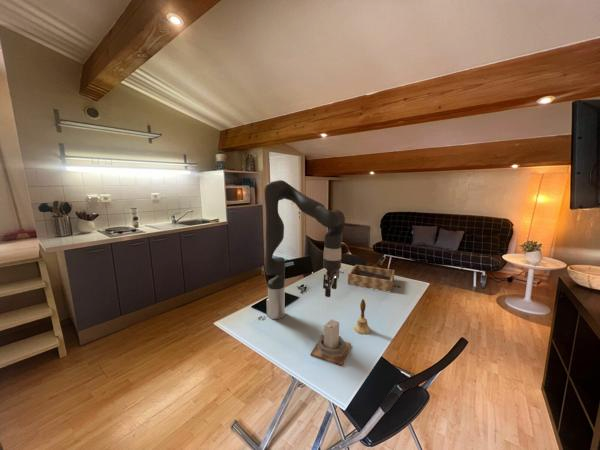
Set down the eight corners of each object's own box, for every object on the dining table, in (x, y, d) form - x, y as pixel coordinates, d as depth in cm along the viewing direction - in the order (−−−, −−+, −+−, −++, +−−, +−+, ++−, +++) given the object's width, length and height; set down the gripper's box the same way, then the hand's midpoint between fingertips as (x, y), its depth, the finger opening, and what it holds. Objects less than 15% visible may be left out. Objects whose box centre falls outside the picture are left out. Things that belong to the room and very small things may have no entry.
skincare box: (330, 342, 107) (331, 318, 105) (339, 347, 105) (339, 322, 103) (322, 349, 103) (323, 324, 101) (331, 354, 100) (332, 328, 98)
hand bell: (354, 333, 116) (355, 303, 114) (353, 323, 124) (354, 295, 122) (371, 335, 115) (373, 304, 112) (369, 325, 123) (371, 296, 120)
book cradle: (347, 284, 175) (348, 274, 173) (355, 273, 196) (355, 264, 195) (390, 292, 162) (391, 281, 160) (393, 280, 183) (394, 270, 182)
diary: (385, 291, 165) (385, 284, 164) (351, 283, 179) (351, 277, 178) (391, 282, 180) (392, 276, 179) (360, 275, 194) (360, 269, 193)
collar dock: (310, 355, 101) (310, 346, 100) (322, 337, 113) (322, 329, 113) (342, 366, 95) (342, 357, 94) (350, 345, 107) (351, 337, 106)
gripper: (335, 263, 92) (334, 301, 95) (345, 253, 105) (343, 287, 108) (317, 260, 96) (317, 297, 99) (329, 251, 108) (328, 284, 111)
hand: (331, 292), depth 103 cm, fingers open, 8 cm apart
